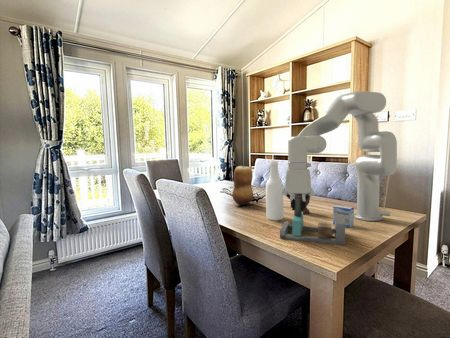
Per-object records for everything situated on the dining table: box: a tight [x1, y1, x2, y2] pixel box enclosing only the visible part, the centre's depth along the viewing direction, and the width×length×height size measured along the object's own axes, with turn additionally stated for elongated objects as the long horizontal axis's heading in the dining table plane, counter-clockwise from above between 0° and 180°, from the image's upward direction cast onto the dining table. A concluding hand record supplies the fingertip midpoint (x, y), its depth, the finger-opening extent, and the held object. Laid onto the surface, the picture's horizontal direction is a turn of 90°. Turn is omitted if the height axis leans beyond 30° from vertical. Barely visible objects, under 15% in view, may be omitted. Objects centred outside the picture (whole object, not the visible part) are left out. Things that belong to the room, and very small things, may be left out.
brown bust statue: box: [294, 193, 311, 215], centre depth 135 cm, size 12×9×20 cm
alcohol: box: [265, 159, 285, 221], centre depth 127 cm, size 9×9×30 cm
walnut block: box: [317, 222, 333, 239], centre depth 101 cm, size 5×5×5 cm
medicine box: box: [332, 204, 355, 228], centre depth 115 cm, size 8×4×9 cm, turn 44°
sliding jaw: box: [291, 196, 304, 236], centre depth 105 cm, size 3×14×14 cm, turn 158°
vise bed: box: [279, 214, 346, 246], centre depth 103 cm, size 24×14×8 cm, turn 68°
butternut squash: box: [231, 165, 254, 206], centre depth 159 cm, size 14×13×25 cm
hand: (298, 209), depth 104 cm, fingers closed on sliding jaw, 3 cm apart
